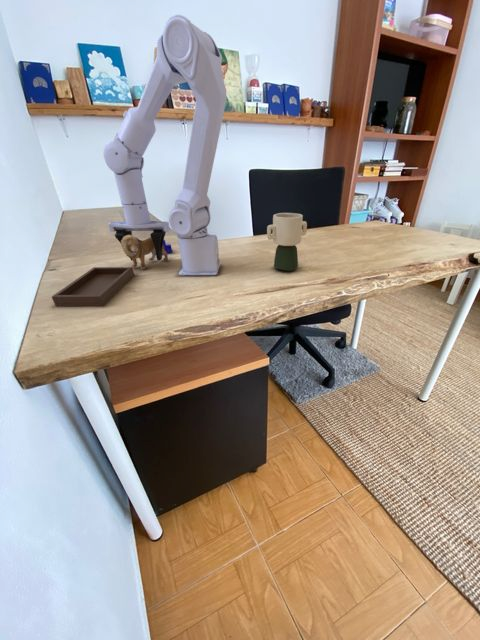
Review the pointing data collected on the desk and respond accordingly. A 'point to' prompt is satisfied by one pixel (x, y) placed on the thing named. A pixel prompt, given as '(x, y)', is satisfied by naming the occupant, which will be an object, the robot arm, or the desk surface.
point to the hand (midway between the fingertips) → (146, 259)
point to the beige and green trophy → (286, 239)
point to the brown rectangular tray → (94, 287)
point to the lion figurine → (140, 249)
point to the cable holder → (167, 247)
